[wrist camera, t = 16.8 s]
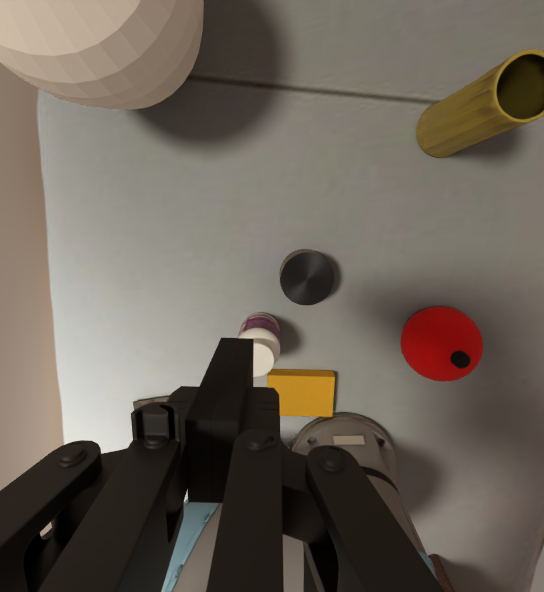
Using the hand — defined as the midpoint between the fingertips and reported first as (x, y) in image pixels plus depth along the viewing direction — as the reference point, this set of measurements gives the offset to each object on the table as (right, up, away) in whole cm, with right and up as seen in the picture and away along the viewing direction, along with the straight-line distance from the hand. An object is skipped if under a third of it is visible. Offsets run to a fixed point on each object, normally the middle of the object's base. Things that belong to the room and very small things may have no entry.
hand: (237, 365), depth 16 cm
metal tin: (+6, +6, +29) cm, 30 cm away
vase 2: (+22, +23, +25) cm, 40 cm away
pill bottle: (0, -1, +31) cm, 31 cm away
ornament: (+22, -1, +31) cm, 38 cm away
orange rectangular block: (+6, -10, +32) cm, 34 cm away
